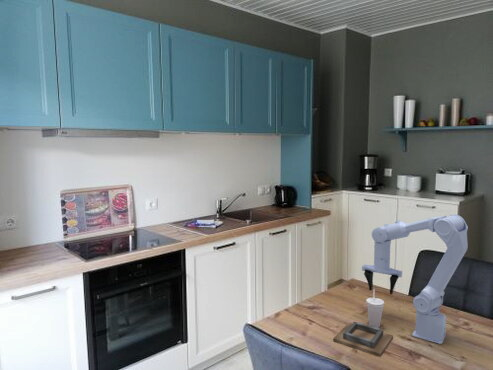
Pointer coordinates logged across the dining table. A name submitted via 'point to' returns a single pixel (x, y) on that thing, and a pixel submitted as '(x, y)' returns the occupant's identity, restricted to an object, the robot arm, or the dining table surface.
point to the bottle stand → (364, 338)
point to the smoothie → (374, 310)
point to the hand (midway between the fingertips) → (381, 291)
